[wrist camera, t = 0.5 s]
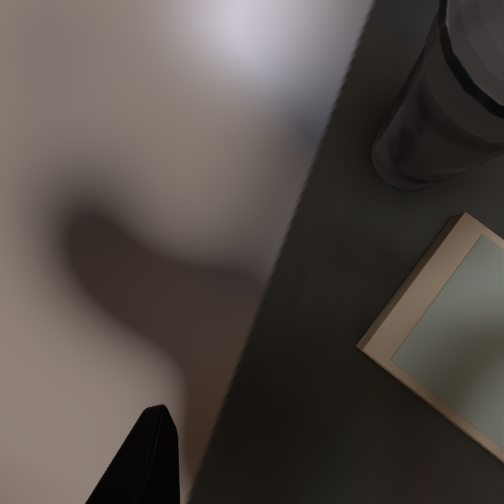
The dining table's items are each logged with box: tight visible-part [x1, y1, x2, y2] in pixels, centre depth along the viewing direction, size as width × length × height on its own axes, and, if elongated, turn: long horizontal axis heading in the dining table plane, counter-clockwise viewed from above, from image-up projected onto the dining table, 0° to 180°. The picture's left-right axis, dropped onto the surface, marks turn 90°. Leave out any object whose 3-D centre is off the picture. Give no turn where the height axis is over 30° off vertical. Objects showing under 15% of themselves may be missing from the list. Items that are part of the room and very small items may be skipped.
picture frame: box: [356, 212, 504, 463], centre depth 22 cm, size 12×10×2 cm
